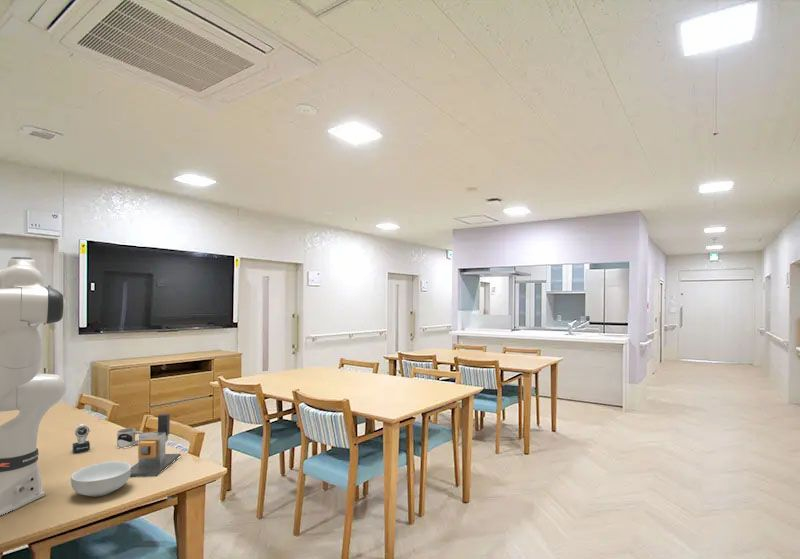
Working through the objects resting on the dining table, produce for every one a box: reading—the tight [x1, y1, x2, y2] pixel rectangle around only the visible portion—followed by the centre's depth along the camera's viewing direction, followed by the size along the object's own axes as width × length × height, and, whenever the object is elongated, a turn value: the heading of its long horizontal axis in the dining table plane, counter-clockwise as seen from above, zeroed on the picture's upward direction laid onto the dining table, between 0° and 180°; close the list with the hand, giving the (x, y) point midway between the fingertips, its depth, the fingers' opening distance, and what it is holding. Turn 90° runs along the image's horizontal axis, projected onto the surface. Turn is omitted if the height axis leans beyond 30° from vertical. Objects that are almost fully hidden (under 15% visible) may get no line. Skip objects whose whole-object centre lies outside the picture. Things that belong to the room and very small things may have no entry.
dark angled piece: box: [141, 413, 171, 454], centre depth 175 cm, size 16×4×10 cm, turn 2°
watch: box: [72, 423, 91, 454], centre depth 191 cm, size 6×8×11 cm
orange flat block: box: [137, 441, 157, 458], centre depth 169 cm, size 2×6×6 cm, turn 92°
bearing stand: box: [129, 431, 182, 478], centre depth 174 cm, size 20×12×12 cm, turn 2°
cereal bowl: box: [70, 460, 132, 498], centre depth 152 cm, size 17×17×7 cm
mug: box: [116, 427, 144, 449], centre depth 198 cm, size 10×7×7 cm, turn 108°
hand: (19, 330), depth 178 cm, fingers open, 8 cm apart
